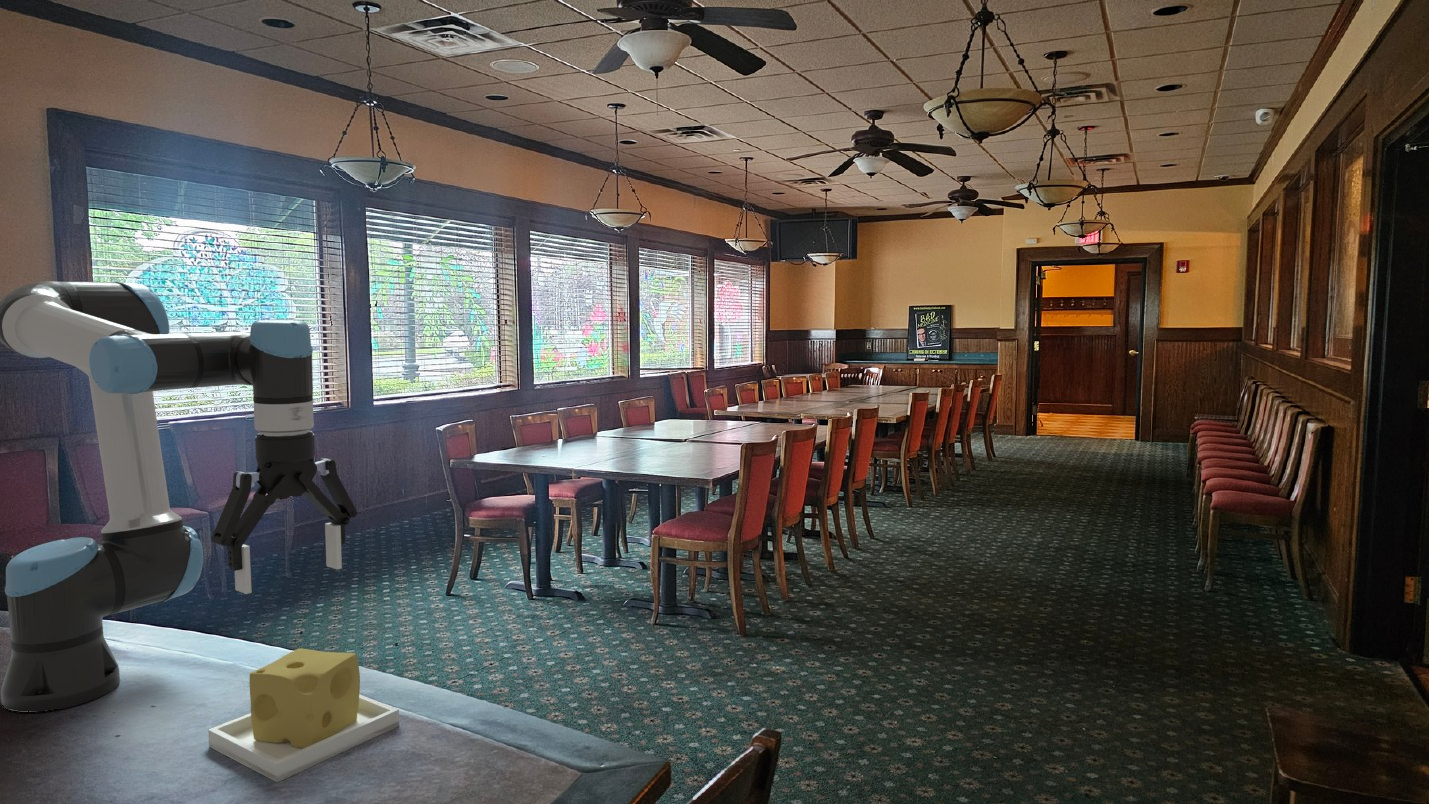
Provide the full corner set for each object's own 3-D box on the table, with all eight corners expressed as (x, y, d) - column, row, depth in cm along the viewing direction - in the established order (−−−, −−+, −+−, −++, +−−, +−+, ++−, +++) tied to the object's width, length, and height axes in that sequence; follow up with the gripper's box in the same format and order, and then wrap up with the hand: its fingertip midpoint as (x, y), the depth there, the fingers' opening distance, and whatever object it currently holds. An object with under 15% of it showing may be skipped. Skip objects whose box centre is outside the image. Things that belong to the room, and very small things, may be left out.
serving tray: (209, 746, 125) (208, 729, 125) (330, 697, 141) (330, 682, 140) (277, 782, 116) (276, 763, 116) (399, 725, 132) (398, 709, 131)
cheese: (312, 752, 122) (309, 681, 121) (247, 741, 125) (243, 671, 124) (362, 718, 132) (360, 652, 131) (301, 708, 135) (298, 644, 134)
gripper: (207, 446, 114) (215, 608, 117) (379, 424, 134) (382, 562, 137) (177, 439, 118) (186, 596, 121) (348, 419, 139) (352, 553, 141)
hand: (290, 579), depth 129 cm, fingers open, 13 cm apart
